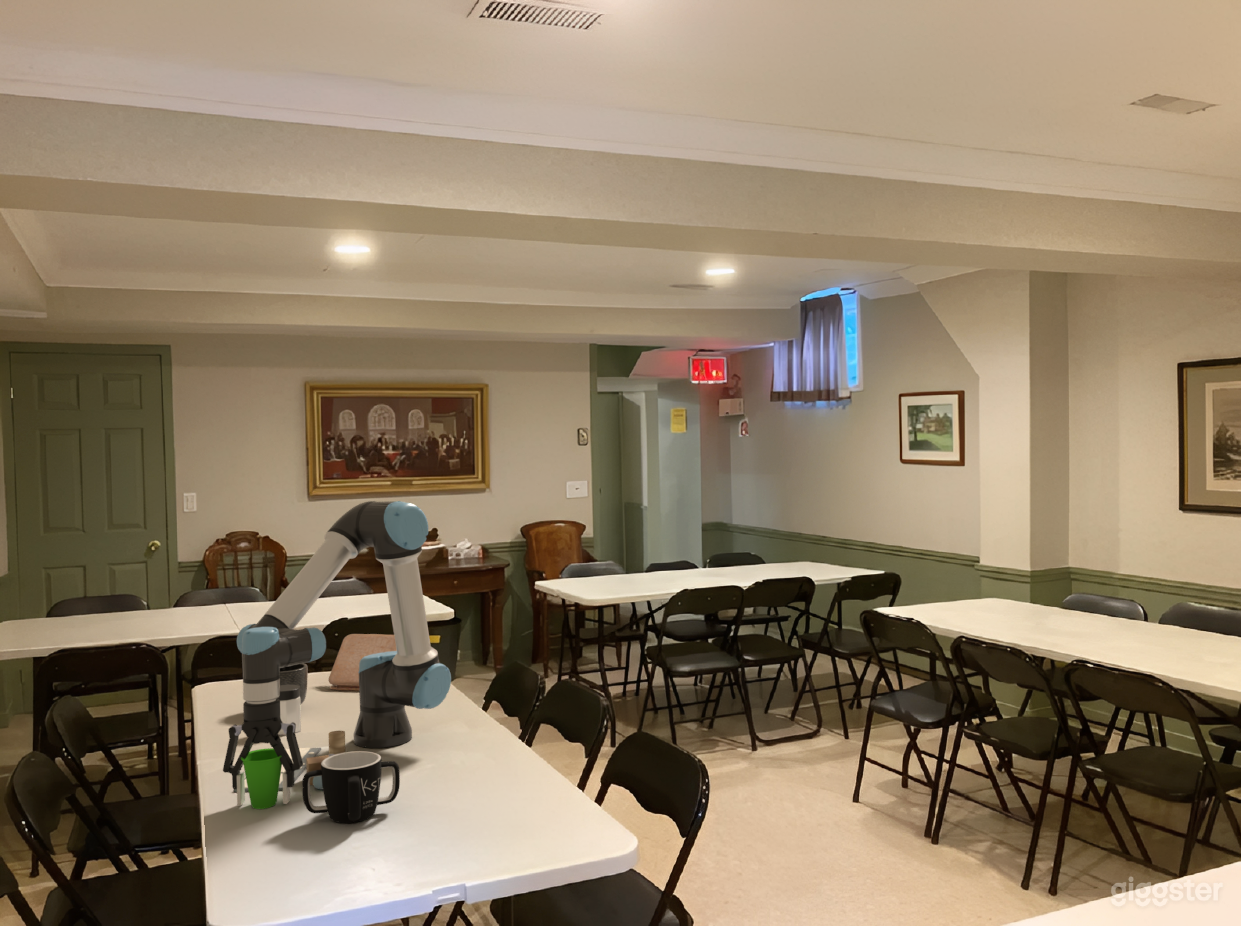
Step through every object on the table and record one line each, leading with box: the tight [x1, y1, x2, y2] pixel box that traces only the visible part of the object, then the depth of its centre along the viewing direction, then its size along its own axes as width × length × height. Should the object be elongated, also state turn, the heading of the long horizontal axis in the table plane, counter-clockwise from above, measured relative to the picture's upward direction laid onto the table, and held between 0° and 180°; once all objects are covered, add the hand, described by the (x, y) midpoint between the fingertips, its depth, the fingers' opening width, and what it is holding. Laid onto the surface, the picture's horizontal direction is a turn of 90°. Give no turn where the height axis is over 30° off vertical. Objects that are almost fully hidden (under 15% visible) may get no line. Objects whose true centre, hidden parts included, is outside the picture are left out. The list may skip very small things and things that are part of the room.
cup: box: [241, 747, 282, 810], centre depth 210 cm, size 9×9×11 cm
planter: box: [280, 663, 309, 706], centre depth 290 cm, size 14×14×13 cm
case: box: [328, 633, 397, 692], centre depth 322 cm, size 20×21×16 cm
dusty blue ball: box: [312, 776, 323, 790], centre depth 219 cm, size 4×4×4 cm
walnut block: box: [306, 754, 329, 786], centre depth 225 cm, size 5×5×5 cm
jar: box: [278, 685, 302, 736], centre depth 267 cm, size 9×8×12 cm
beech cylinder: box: [328, 730, 346, 755], centre depth 243 cm, size 4×4×6 cm
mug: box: [301, 750, 401, 824], centre depth 202 cm, size 16×16×12 cm
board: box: [233, 747, 322, 793], centre depth 234 cm, size 12×30×1 cm, turn 3°
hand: (264, 802), depth 210 cm, fingers closed on cup, 9 cm apart
